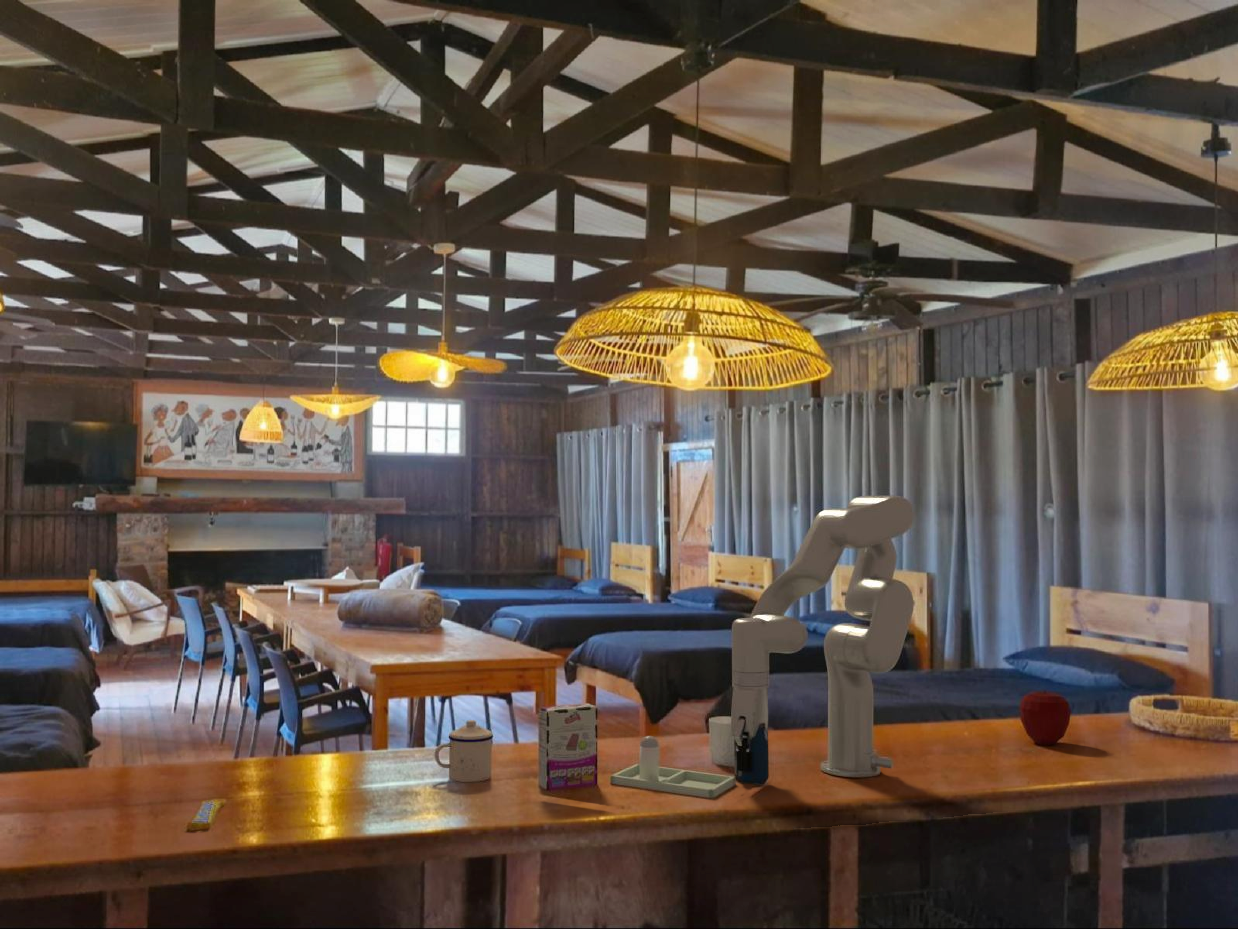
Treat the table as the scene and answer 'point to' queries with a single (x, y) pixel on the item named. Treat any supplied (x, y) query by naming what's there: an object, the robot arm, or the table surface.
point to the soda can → (755, 759)
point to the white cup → (721, 741)
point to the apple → (1045, 716)
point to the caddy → (676, 781)
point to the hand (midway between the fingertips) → (751, 766)
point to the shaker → (649, 759)
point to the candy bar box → (567, 746)
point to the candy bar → (206, 814)
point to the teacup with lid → (468, 753)
